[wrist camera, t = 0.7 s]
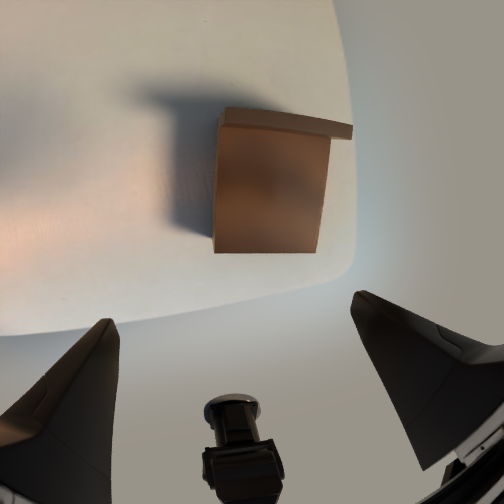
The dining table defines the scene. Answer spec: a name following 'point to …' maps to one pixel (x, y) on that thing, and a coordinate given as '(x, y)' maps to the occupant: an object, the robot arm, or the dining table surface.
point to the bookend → (270, 180)
